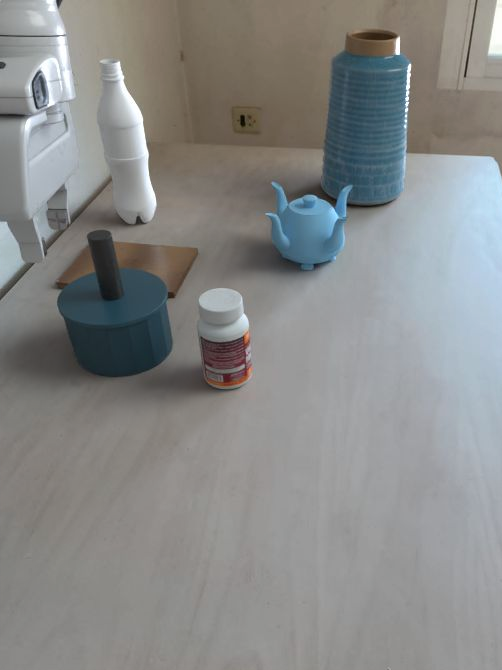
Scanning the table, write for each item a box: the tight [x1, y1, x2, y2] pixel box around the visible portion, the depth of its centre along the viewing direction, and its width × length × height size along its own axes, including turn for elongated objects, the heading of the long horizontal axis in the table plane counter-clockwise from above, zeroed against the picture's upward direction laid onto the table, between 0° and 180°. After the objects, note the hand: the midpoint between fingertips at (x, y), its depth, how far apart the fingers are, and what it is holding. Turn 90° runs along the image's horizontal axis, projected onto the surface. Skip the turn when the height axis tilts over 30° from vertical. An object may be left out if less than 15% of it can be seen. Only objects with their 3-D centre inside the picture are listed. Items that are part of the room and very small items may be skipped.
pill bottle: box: [196, 287, 253, 390], centre depth 76 cm, size 6×6×11 cm
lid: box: [56, 229, 168, 329], centre depth 76 cm, size 13×13×9 cm
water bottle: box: [96, 58, 157, 225], centre depth 104 cm, size 7×7×25 cm
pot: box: [62, 302, 174, 378], centre depth 82 cm, size 13×13×8 cm
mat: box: [56, 240, 200, 299], centre depth 99 cm, size 18×14×1 cm
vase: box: [320, 28, 412, 207], centre depth 115 cm, size 16×16×27 cm
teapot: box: [264, 181, 353, 271], centre depth 100 cm, size 13×13×10 cm
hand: (48, 242), depth 59 cm, fingers open, 8 cm apart
